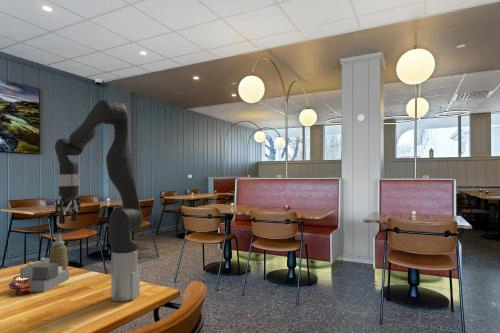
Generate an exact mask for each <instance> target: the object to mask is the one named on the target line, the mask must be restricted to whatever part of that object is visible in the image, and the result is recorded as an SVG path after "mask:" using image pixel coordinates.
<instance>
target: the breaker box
mask: <svg viewBox="0 0 500 333" xmlns="http://www.w3.org/2000/svg"><path fill="white" fill-rule="evenodd" d="M43 263H49V257H48V258H46V257H40V260H39V261H36V262H34V263H33V262H32V261H29V262H28V263H27V265H25V266H23V267H20V270H19V271H20V273H19V277H20V278H22V279H23V278H30V279H29V280H28V281H27V282H28V283H29V285H30V291H29V292H37V293H39V292H40V293H42V292H43V293H44V292H46V291H49V290H51V289H52V288H54V287H56V286H58V285H60V284H62V283H65V282H66V281H68V280H69V277H70V276H69V275H70V274H69V273H70V269H66V270H63V267H58V276H56V277H54V278H52V279H50V280H32V275H33V267H35V266H37V265H40V264H43ZM20 278H19V279H20Z"/></svg>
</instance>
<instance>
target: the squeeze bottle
mask: <svg viewBox="0 0 500 333" xmlns="http://www.w3.org/2000/svg"><path fill="white" fill-rule="evenodd" d="M61 236H62V235H61V233H57V234H56V238H55V241H52V247H50V250H49V257H48V258H49V263H58V267H63V270H67V268H68V265H69V261H68V249H67V248H68V247H67V246H66V245H65V240H62V237H61Z"/></svg>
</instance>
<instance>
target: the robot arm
mask: <svg viewBox="0 0 500 333" xmlns="http://www.w3.org/2000/svg"><path fill="white" fill-rule="evenodd" d="M101 124H105V125H111V126H112V125H113V129H114V130H113V131H114V132H113V133H114V138H113V141H112V143H111V145H110V148H109V149H108V152H107V154H106V158H105V160H106V161H105V162H106V167H107V168H106V169H107V170H106V171H107V174H108V178H109V179H110V181H111V183H112V184H113V186H114V187H115V189H116V190H117V191H118V193H119V196H120V198H121V202H122V203H121V204H122V207H119V208H116V209H114V210H112V211H111V212H110V214H109V217H108V239H109V240H108V241H109V244H110V247H111V255H110V256H111V257H110V259H111V263H110V264H111V271H110V274H111V276H110V300H111V301H113V302H127V301H134V300H135V299H136V297H138V296H139V295H140V293H141V288H140V287H141V286H140V285H141V284H140V282H141V279H140V278H141V276H140V275H141V269H139V262H138V261H139V259H138V258H139V242H137V241H136V240H132V239H131V237H130V236H131V235H130V232H133V231H137V230H139V229H140V227H141V226H142V224H143V212H142V208H141V204H140V199H139V196H138V191H137V187H136V186H137V185H136V180H135V174H134V165H133V163H134V162H133V157H132V152H131V145H130V144H131V143H130V136H129V114H128V109H127V107H126V105H125V104H124V103H122V102H118V101H114V100H109V99H100V100H99V101H97V102H96V103H95V104H94V106H93V107H92V108H91V110H90V111H89V112H88V114H87V116H86V117H85V119H84V121H83V122H82V123H81V124H80V125H79V126H78V127H77V128H76V129H75V130H74V131H73V132H72V133H71V134H70V135H69V138H59V139H57V140H56V142H55V144H54V150H55V154H56V157H57V161H58V164H59V175H58V196H59V197H61V198H59V199H58V198H56V199H55V209H54V213H55V214H56V215H58V224H60V225H64V224H66V213H67V211H69V210H70V211H71V219H70V221H71V222H76V221H78V213H79V212H80V211H82V210H81V197H77V196H79V183H80V182H79V164H78V162H77V161H75V160H71V159H70V158H69V156H74V157H76V156H80V155H81V154H82V153H83V151H84V148H85V147H86V146H87V144H88V143H90V142H91V141H93V139H94V138H95V136H96V133H97V130H96V127H98V126H99V125H101Z"/></svg>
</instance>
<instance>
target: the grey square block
mask: <svg viewBox="0 0 500 333" xmlns="http://www.w3.org/2000/svg"><path fill="white" fill-rule="evenodd" d="M56 276H58V263H43V264H40V265H37V266H35V267H33V275H32V280H50V279H52V278H54V277H56Z"/></svg>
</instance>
